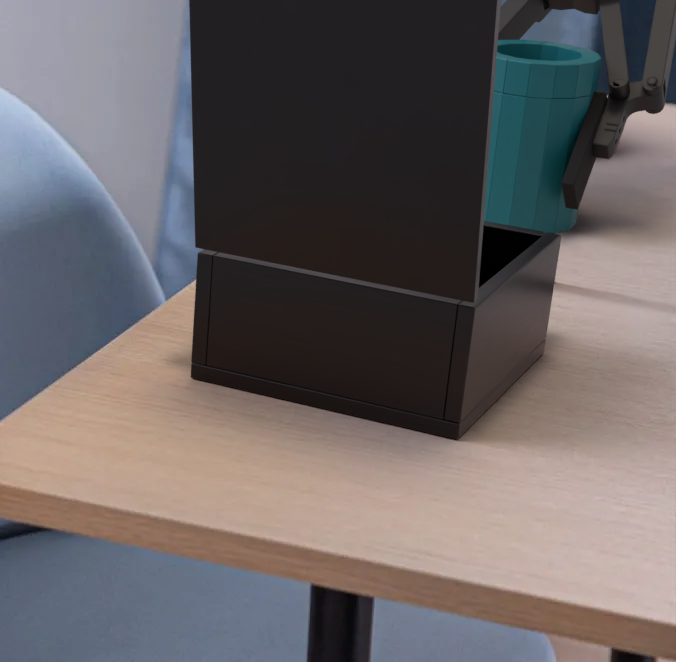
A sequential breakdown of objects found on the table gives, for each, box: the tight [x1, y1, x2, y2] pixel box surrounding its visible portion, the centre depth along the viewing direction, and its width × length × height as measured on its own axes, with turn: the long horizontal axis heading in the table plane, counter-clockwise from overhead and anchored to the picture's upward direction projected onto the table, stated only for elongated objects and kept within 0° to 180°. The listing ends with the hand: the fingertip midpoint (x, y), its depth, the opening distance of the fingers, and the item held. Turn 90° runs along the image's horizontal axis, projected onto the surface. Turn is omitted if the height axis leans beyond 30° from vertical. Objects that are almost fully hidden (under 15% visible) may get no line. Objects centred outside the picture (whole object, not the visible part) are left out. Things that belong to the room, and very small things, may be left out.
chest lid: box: [188, 0, 502, 303], centre depth 76 cm, size 14×14×1 cm
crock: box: [484, 39, 602, 234], centre depth 109 cm, size 7×7×11 cm
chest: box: [190, 221, 562, 440], centre depth 87 cm, size 14×14×6 cm
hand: (504, 185), depth 107 cm, fingers closed on crock, 7 cm apart
